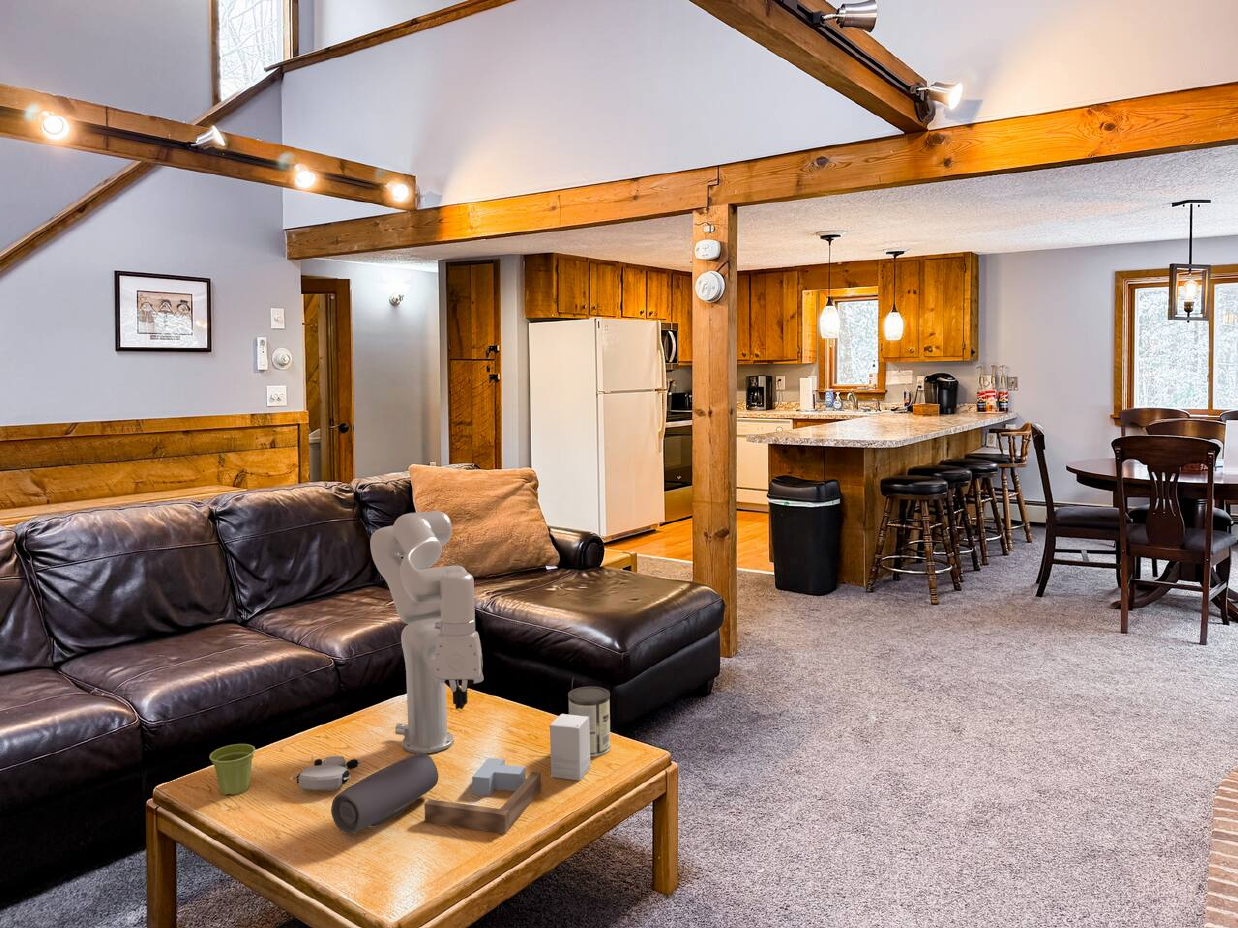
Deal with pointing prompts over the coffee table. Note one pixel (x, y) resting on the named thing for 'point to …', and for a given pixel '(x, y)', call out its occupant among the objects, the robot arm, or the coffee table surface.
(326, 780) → the robot toy
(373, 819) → the bluetooth speaker
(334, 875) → the coffee table surface
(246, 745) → the plant pot
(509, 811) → the walnut fence
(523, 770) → the tee block
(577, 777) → the supplement box
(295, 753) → the coffee table surface
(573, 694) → the coffee can
